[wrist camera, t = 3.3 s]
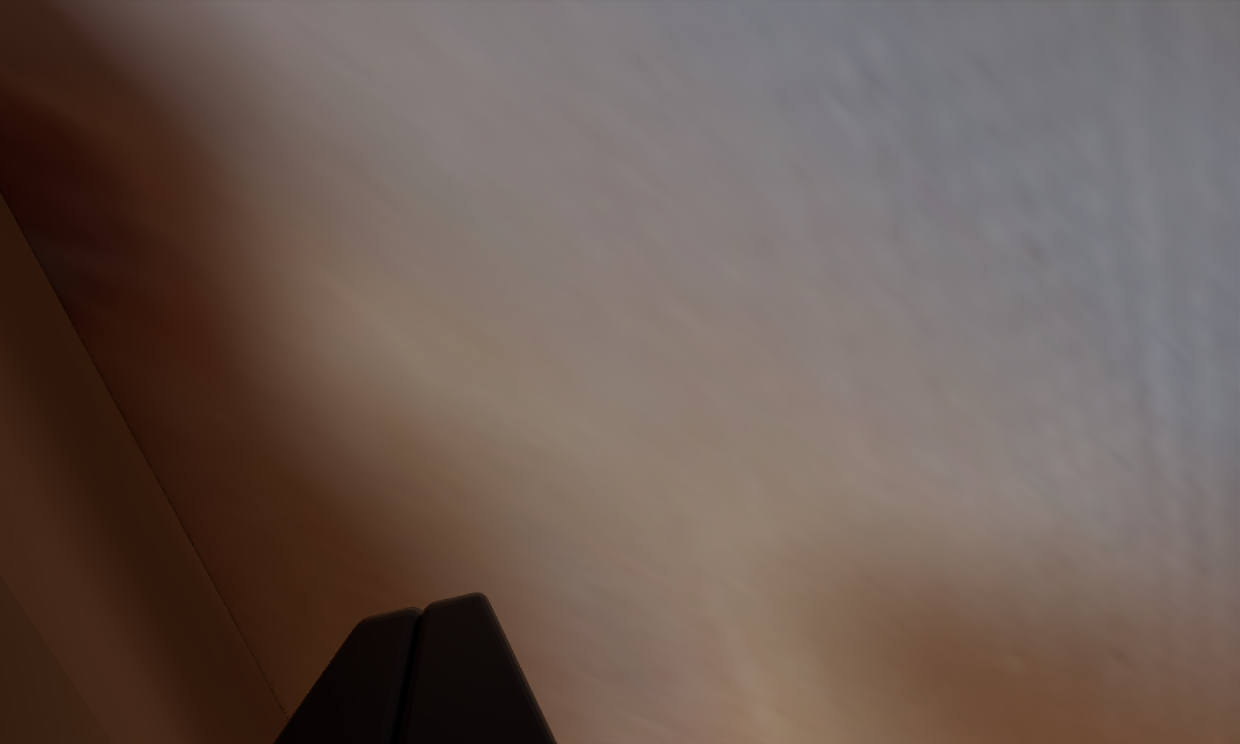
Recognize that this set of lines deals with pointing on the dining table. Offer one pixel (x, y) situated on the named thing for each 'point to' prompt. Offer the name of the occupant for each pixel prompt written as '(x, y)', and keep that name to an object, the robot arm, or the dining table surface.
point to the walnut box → (99, 559)
